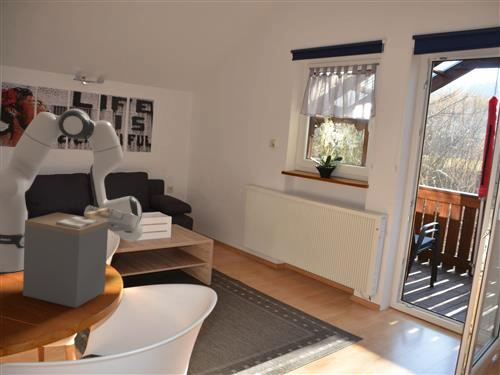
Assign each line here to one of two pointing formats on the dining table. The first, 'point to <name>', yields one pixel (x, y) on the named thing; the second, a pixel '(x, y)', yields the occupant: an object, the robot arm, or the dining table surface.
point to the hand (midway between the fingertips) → (101, 209)
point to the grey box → (64, 260)
